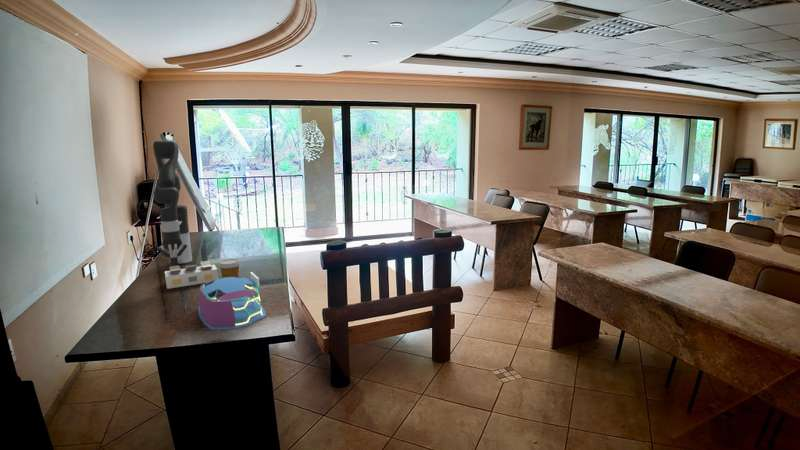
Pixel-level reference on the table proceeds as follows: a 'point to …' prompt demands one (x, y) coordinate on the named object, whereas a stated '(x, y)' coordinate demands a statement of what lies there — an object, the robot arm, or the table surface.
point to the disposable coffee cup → (229, 268)
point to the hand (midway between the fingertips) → (174, 264)
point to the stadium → (230, 303)
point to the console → (190, 277)
